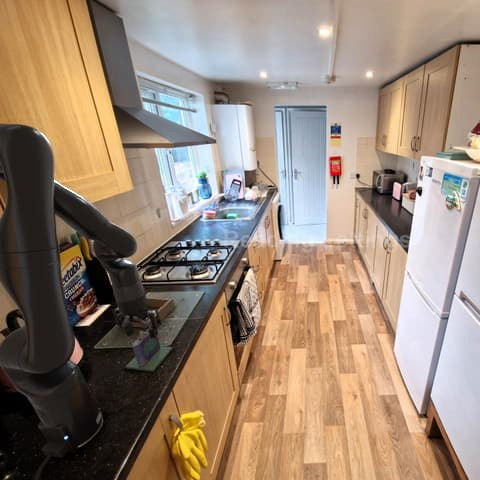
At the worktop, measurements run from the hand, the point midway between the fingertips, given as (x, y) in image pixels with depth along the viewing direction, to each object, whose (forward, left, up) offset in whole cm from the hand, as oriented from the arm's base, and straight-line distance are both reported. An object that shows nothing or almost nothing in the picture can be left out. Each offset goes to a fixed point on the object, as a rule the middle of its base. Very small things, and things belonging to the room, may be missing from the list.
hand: (142, 335), depth 88 cm
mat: (0, 0, -10) cm, 10 cm away
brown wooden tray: (+21, +17, -10) cm, 29 cm away
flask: (0, 0, -9) cm, 9 cm away
